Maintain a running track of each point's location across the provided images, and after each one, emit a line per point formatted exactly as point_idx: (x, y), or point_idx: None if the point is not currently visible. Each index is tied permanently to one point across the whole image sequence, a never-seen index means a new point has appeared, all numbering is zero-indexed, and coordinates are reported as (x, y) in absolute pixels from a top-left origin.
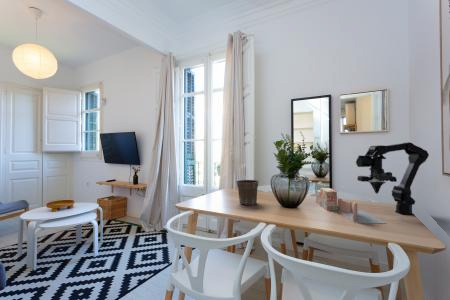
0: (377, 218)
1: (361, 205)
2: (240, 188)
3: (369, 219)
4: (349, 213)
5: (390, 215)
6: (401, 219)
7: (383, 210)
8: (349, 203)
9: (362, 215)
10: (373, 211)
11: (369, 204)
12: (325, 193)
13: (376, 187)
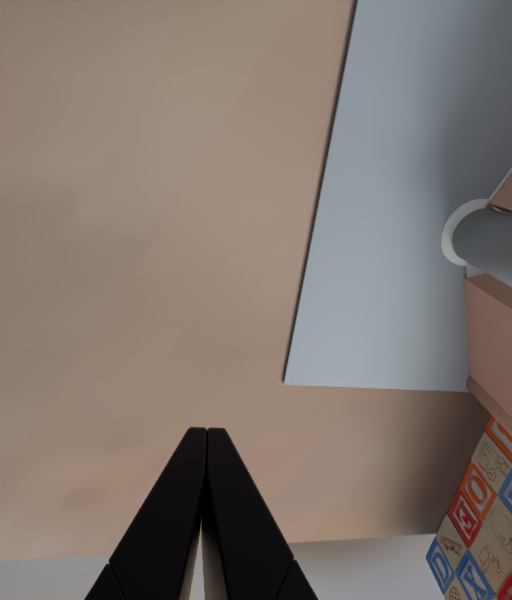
0: (348, 55)
1: None
2: None
3: (477, 14)
4: None
5: (94, 199)
6: (48, 8)
7: (65, 379)
8: None
9: (424, 191)
10: (192, 345)
11: (91, 539)
12: None
13: (258, 586)
